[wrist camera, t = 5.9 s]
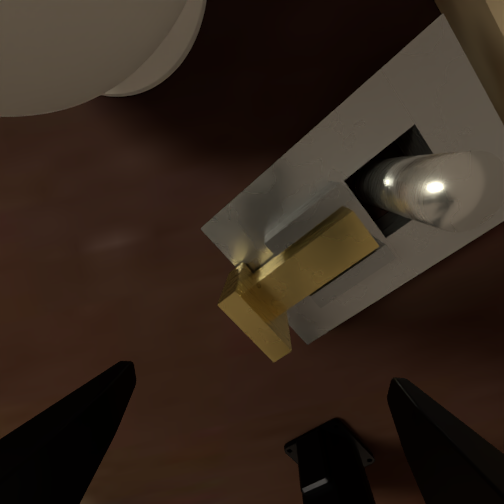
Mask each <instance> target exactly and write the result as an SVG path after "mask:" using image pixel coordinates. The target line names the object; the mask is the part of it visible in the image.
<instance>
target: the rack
mask: <svg viewBox="0 0 504 504" xmlns="http://www.w3.org/2000/svg"><path fill="white" fill-rule="evenodd" d="M434 1H435V3H436V5H437V7H438V8H439V10H440V12H441V14H444V15H445V17H446V19H447V21H448V23H449V25H450V27H451V28H452V30H453V32H454V34H455V36H456V38H457V40H458V41H459V43H460V45H461V47H462V49H463V51H464V53H465V54H466V56H467V58H468V60H469V62H470V64H471V66H472V67H473V69H474V71H475V73H476V75H477V77H478V78H479V80H480V82H481V84H482V86H483V88H484V90H485V91H486V93H487V95H488V97H489V99H490V101H491V103H492V104H493V106H494V108H495V110H496V112H497V114H498V116H499V117H500V119H501V121H502V123H503V125H504V0H434Z"/></svg>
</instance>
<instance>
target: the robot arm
mask: <svg viewBox="0 0 504 504" xmlns="http://www.w3.org/2000/svg"><path fill="white" fill-rule="evenodd" d="M135 385H136V375H135V369H134V364H133V362H131V361H120V362H118V363H117V364H115V365H113V366H112V367H110V368H109V369H107V370H106V371H104V372H103V373H101V374H100V375H98V376H97V377H95V378H93V379H92V380H90V381H89V382H87V383H86V384H84V385H83V386H81V387H80V388H78V389H77V390H75V391H73V392H72V393H70V394H69V395H67V396H66V397H64V398H63V399H61V400H60V401H58V402H57V403H55V404H53V405H52V406H50V407H49V408H47V409H46V410H44V411H43V412H41V413H40V414H38V415H37V416H35V417H33V418H32V419H30V420H29V421H27V422H26V423H24V424H23V425H21V426H20V427H18V428H17V429H15V430H13V431H12V432H10V433H9V434H7V435H6V436H4V437H3V438H1V439H0V504H80V502H81V500H82V498H83V496H84V494H85V492H86V490H87V488H88V486H89V484H90V482H91V480H92V479H93V477H94V475H95V473H96V471H97V469H98V467H99V465H100V463H101V461H102V459H103V457H104V455H105V453H106V451H107V449H108V448H109V446H110V444H111V442H112V440H113V438H114V436H115V434H116V431H117V429H118V427H119V425H120V422H121V420H122V417H123V415H124V412H125V410H126V407H127V405H128V402H129V400H130V398H131V395H132V393H133V390H134V388H135ZM387 401H388V405H389V408H390V411H391V414H392V417H393V420H394V423H395V426H396V429H397V432H398V435H399V438H400V441H401V444H402V447H403V450H404V453H405V456H406V458H407V461H408V463H409V465H410V468H411V470H412V472H413V475H414V477H415V479H416V482H417V484H418V486H419V489H420V491H421V493H422V496H423V498H424V500H425V503H426V504H504V454H503V453H502V452H500V451H499V450H498V449H496V448H495V447H494V446H493V445H491V444H490V443H489V442H487V441H486V440H485V439H484V438H482V437H481V436H480V435H478V434H477V433H476V432H475V431H473V430H472V429H471V428H469V427H468V426H467V425H465V424H464V423H463V422H462V421H460V420H459V419H458V418H456V417H455V416H454V415H453V414H451V413H450V412H449V411H447V410H446V409H445V408H444V407H442V406H441V405H440V404H438V403H437V402H436V401H435V400H433V399H432V398H431V397H429V396H428V395H427V394H426V393H424V392H423V391H422V390H420V389H419V388H418V387H416V386H415V385H414V384H413V383H411V382H410V381H409V380H407V379H405V378H393V379H392V380H391V383H390V387H389V391H388V395H387ZM284 449H285V453H286V454H287V455H288V456H289V457H291V458H292V459H293V460H294V461H295V462H296V463H297V464H298V468H299V478H300V488H301V492H302V497H303V504H376V503H375V500H374V497H373V494H372V491H371V488H370V484H369V481H368V478H367V475H366V472H365V469H364V467H365V466H368V465H370V464H372V463H374V461H375V459H374V456H373V454H372V453H371V452H370V451H369V450H368V449H367V448H366V447H365V446H364V445H363V444H362V443H361V442H360V441H359V440H358V439H357V438H356V437H355V436H354V434H353V433H352V432H351V431H350V430H349V429H348V428H347V427H346V426H345V425H344V424H343V423H342V422H341V421H340V420H338V419H333V420H331V421H329V422H327V423H325V424H323V425H321V426H319V427H317V428H316V429H314V430H312V431H310V432H308V433H306V434H304V435H302V436H300V437H298V438H296V439H294V440H293V441H291V442H289V443H287V444H285V446H284Z"/></svg>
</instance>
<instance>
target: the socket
mask: <svg viewBox="0 0 504 504" xmlns="http://www.w3.org/2000/svg"><path fill="white" fill-rule="evenodd" d="M394 140H395V142H396V143H397V145H398V147H399V148H400V150H401V151H402V153H403V154H404V156H405V157H406V156H417V155H428V154H440V153H451V152H462V151H485V152H489V153H491V154H493V155H495V156H496V157H498V158H499V159H500V160H501V161H502V162H503V164H504V125H503V123H502V121H501V119H500V117H499V116H498V114H497V112H496V110H495V108H494V106H493V104H492V103H491V101H490V99H489V97H488V95H487V93H486V91H485V90H484V88H483V86H482V84H481V82H480V80H479V78H478V77H477V75H476V73H475V71H474V69H473V67H472V66H471V64H470V62H469V60H468V58H467V56H466V54H465V53H464V51H463V49H462V47H461V45H460V43H459V41H458V40H457V38H456V36H455V34H454V32H453V30H452V28H451V27H450V25H449V23H448V21H447V19H446V17H445V15H444V14H442V15H440V16H439V17H438V18H437V19H436V20H435V21H434V22H433V23H431V24H430V25H429V26H428V27H427V28H426V29H425V30H424V31H422V32H421V33H420V34H419V35H418V36H417V37H416V38H415V39H413V40H412V41H411V42H410V43H409V44H408V45H407V46H406V47H404V48H403V49H402V50H401V51H400V52H399V53H398V54H397V55H395V56H394V57H393V58H392V59H391V60H390V61H389V62H388V63H386V64H385V65H384V66H383V67H382V68H381V69H380V70H379V71H377V72H376V73H375V74H374V75H373V76H372V77H371V78H370V79H368V80H367V81H366V82H365V83H364V84H363V85H362V86H361V87H359V88H358V89H357V90H356V91H355V92H354V93H353V94H352V95H350V96H349V97H348V98H347V99H346V100H345V101H344V102H343V103H341V104H340V105H339V106H338V107H337V108H336V109H335V110H334V111H332V112H331V113H330V114H329V115H328V116H327V117H326V118H325V119H323V120H322V121H321V122H320V123H319V124H318V125H317V126H316V127H314V128H313V129H312V130H311V131H310V132H309V133H308V134H307V135H305V136H304V137H303V138H302V139H301V140H300V141H299V142H298V143H296V144H295V145H294V146H293V147H292V148H291V149H290V150H289V151H287V152H286V153H285V154H284V155H283V156H282V157H281V158H280V159H278V160H277V161H276V162H275V163H274V164H273V165H272V166H271V167H269V168H268V169H267V170H266V171H265V172H264V173H263V174H262V175H260V176H259V177H258V178H257V179H256V180H255V181H254V182H253V183H251V184H250V185H249V186H248V187H247V188H246V189H245V190H244V191H242V192H241V193H240V194H239V195H238V196H237V197H236V198H234V199H233V200H232V201H231V202H230V203H229V204H228V205H227V206H225V207H224V208H223V209H222V210H221V211H220V212H219V213H218V214H216V215H215V216H214V217H213V218H212V219H211V220H210V221H209V222H207V223H206V224H205V225H204V226H203V227H202V228H201V230H202V231H203V232H204V233H205V234H206V235H207V236H208V237H209V238H210V239H211V241H212V242H213V243H214V244H215V245H216V246H217V247H218V248H219V249H220V250H221V251H222V253H223V254H224V255H225V256H226V257H227V258H228V259H229V260H230V261H231V262H232V263H233V264H234V266H235V267H238V266H239V265H240V264H241V263H243V262H244V263H245V265H246V266H247V267H248V268H249V269H250V270H251V271H252V272H253V273H255V272H256V271H257V270H258V269H260V268H261V267H262V266H264V265H265V264H266V263H268V262H269V261H270V260H271V259H273V258H274V257H276V256H278V255H279V254H280V253H282V252H283V251H284V250H285V249H287V248H288V247H289V246H291V245H292V244H293V243H295V242H296V241H297V240H298V239H300V238H301V237H302V236H304V235H305V234H306V233H308V232H309V231H310V230H311V229H313V228H314V227H315V226H317V225H318V224H319V223H321V222H322V221H323V220H325V219H326V218H327V217H328V216H330V215H331V214H332V213H334V212H335V211H336V210H338V209H339V208H340V207H341V206H344V207H346V208H348V209H350V210H352V211H354V213H355V214H356V215H357V217H358V218H359V219H360V221H361V222H362V223H363V225H364V226H365V228H366V229H367V230H368V232H369V233H370V234H371V236H372V237H373V238H374V240H375V241H376V242H377V244H378V245H379V247H378V248H376V249H375V250H373V251H372V252H371V253H369V254H368V255H366V256H365V257H363V258H362V259H360V260H359V261H358V262H356V263H355V264H353V265H352V266H350V267H349V268H347V269H346V270H344V271H343V272H342V273H340V274H339V275H337V276H336V277H334V278H333V279H331V280H330V281H329V282H327V283H326V284H324V285H323V286H321V287H320V288H318V289H317V290H316V291H314V292H313V293H311V294H310V295H308V296H307V297H305V298H304V299H302V300H301V301H300V302H298V303H297V304H295V305H294V306H292V307H291V308H289V309H288V310H287V317H288V324H289V325H290V326H291V327H292V329H293V330H294V331H295V332H296V333H297V334H298V335H299V336H300V337H301V338H302V339H303V340H304V342H305V343H306V344H307V345H308V344H309V343H311V342H312V341H314V340H316V339H317V338H319V337H320V336H322V335H324V334H325V333H327V332H328V331H330V330H331V329H333V328H335V327H336V326H338V325H339V324H341V323H343V322H344V321H346V320H347V319H349V318H350V317H352V316H354V315H355V314H357V313H358V312H360V311H362V310H363V309H365V308H366V307H368V306H370V305H371V304H373V303H374V302H376V301H377V300H379V299H381V298H382V297H384V296H385V295H387V294H389V293H390V292H392V291H393V290H395V289H396V288H398V287H400V286H401V285H403V284H404V283H406V282H408V281H409V280H411V279H412V278H414V277H416V276H417V275H419V274H420V273H422V272H423V271H425V270H427V269H428V268H430V267H431V266H433V265H435V264H436V263H438V262H439V261H441V260H442V259H444V258H446V257H447V256H449V255H450V254H452V253H454V252H455V251H457V250H458V249H460V248H462V247H463V246H465V245H466V244H468V243H469V242H471V241H473V240H474V239H476V238H477V237H479V236H481V235H482V234H484V233H485V232H487V231H488V230H490V229H492V228H493V227H495V226H496V225H498V224H500V223H501V222H503V221H504V202H503V204H502V205H501V207H500V208H499V209H498V211H497V212H496V213H495V214H494V215H493V216H492V217H491V218H490V219H489V220H488V221H486V222H485V223H483V224H482V225H480V226H478V227H476V228H474V229H471V230H468V231H463V232H448V231H444V230H441V229H438V228H435V227H432V226H430V225H427V224H424V223H421V222H418V221H415V220H413V219H410V218H407V217H404V216H401V215H398V214H396V213H393V212H390V211H389V212H388V213H386V214H385V215H384V216H382V217H381V218H379V219H378V220H377V221H375V222H374V221H373V220H372V219H371V217H370V216H369V214H368V213H367V212H366V210H365V209H364V208H363V206H362V205H361V204H360V202H359V201H358V199H357V198H356V197H355V195H354V194H353V193H352V191H351V190H350V188H349V187H348V186H347V184H346V183H345V182H344V180H345V179H347V178H348V177H349V176H350V175H352V174H353V173H354V172H355V171H357V170H358V169H359V168H360V167H362V166H363V165H364V164H365V163H367V162H368V161H369V160H370V159H372V158H373V157H374V156H375V155H377V154H378V153H379V152H380V151H382V150H383V149H384V148H385V147H387V146H388V145H389V144H391V143H392V142H393V141H394Z"/></svg>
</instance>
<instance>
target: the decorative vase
mask: <svg viewBox="0 0 504 504" xmlns="http://www.w3.org/2000/svg"><path fill="white" fill-rule="evenodd" d="M206 1H207V0H0V117H15V116H31V115H39V114H46V113H51V112H56V111H60V110H64V109H68V108H71V107H74V106H77V105H80V104H82V103H85V102H87V101H90V100H92V99H94V98H96V97H98V96H100V95H103V96H111V97H123V96H131V95H135V94H139V93H142V92H145V91H147V90H150V89H152V88H154V87H155V86H157V85H159V84H160V83H162V82H163V81H164V80H166V79H167V78H168V77H169V76H170V75H171V74H172V73H173V72H174V71H175V70H176V69H177V68H178V67H179V66H180V65H181V63H182V62H183V61H184V59H185V58H186V56H187V55H188V53H189V51H190V50H191V48H192V46H193V44H194V42H195V40H196V37H197V35H198V32H199V30H200V27H201V23H202V20H203V16H204V12H205V7H206Z"/></svg>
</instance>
